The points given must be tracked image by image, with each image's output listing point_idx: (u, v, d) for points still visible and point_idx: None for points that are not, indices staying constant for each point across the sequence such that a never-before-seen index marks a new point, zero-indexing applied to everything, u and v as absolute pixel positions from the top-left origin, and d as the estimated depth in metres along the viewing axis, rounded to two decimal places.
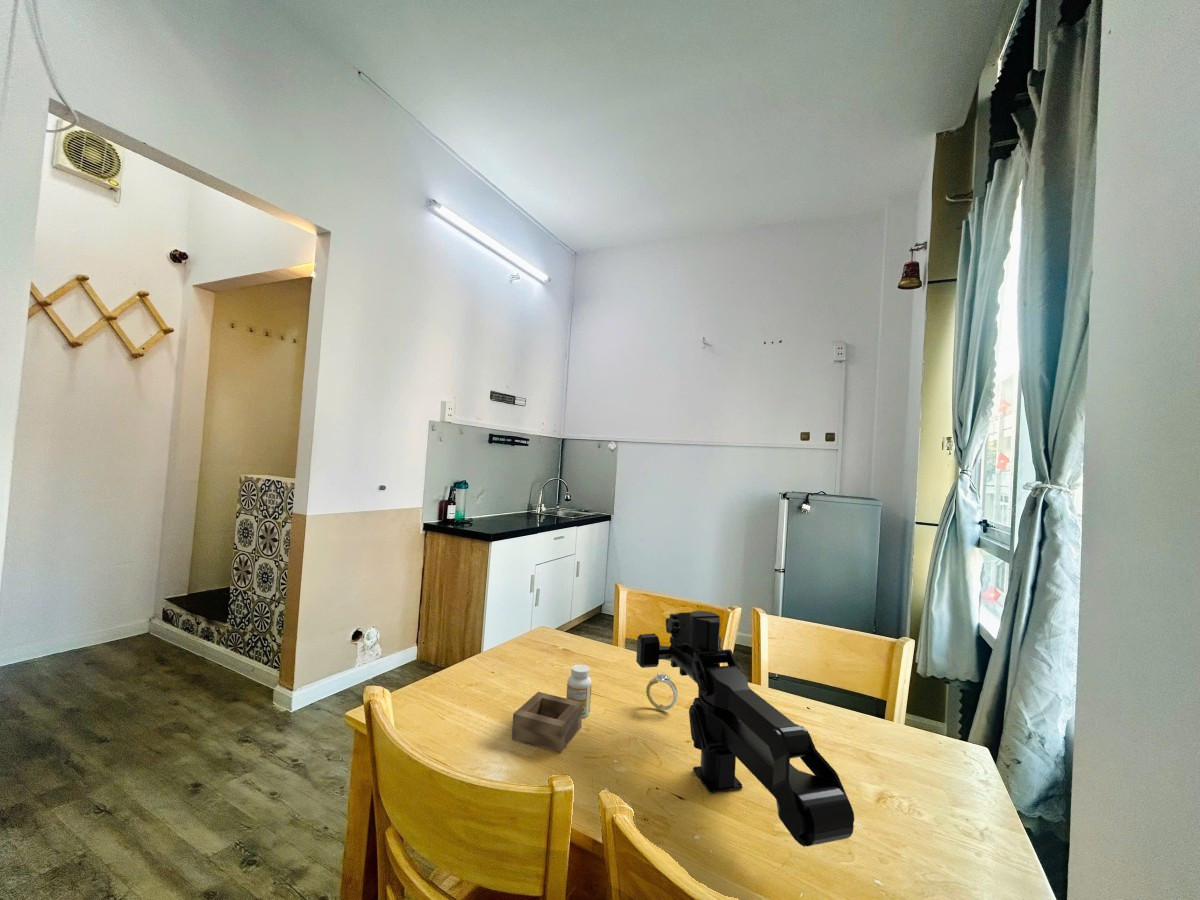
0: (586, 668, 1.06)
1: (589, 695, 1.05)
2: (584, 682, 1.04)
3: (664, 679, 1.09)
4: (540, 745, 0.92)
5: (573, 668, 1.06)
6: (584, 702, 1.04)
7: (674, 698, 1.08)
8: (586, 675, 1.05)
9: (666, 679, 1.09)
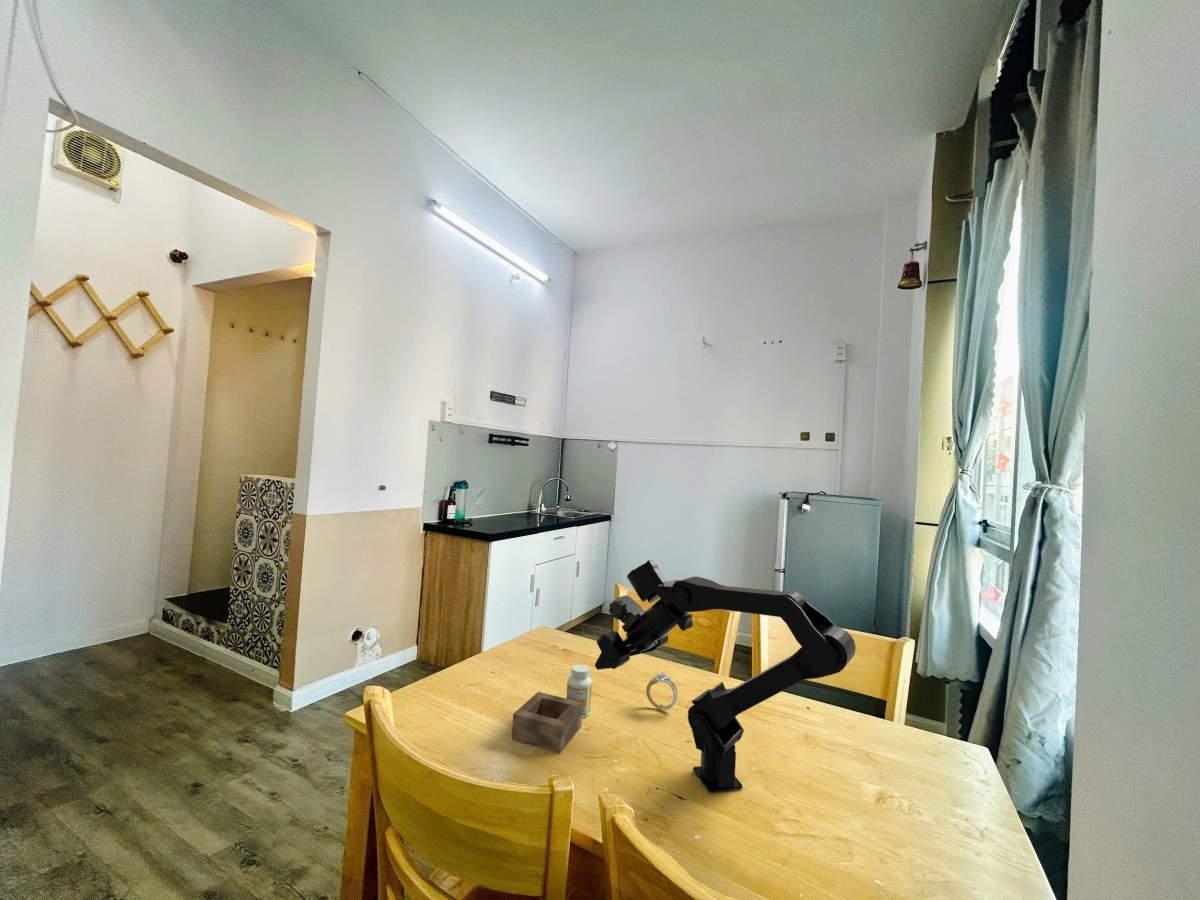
0: (586, 668, 1.06)
1: (589, 695, 1.05)
2: (584, 682, 1.04)
3: (664, 679, 1.09)
4: (540, 745, 0.92)
5: (573, 668, 1.06)
6: (584, 702, 1.04)
7: (674, 698, 1.08)
8: (586, 675, 1.05)
9: (666, 679, 1.09)
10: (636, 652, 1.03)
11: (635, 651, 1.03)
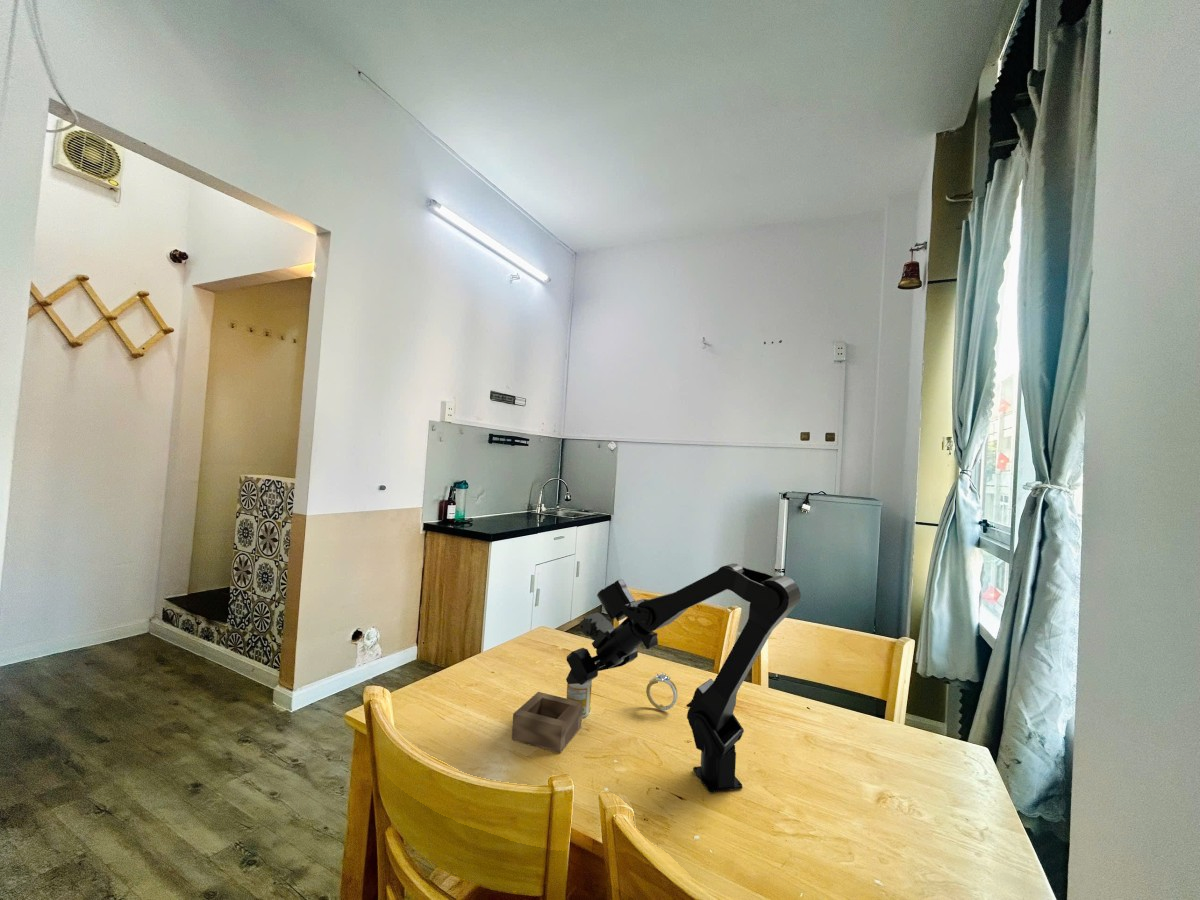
0: None
1: (589, 695, 1.05)
2: None
3: (664, 679, 1.09)
4: (540, 745, 0.92)
5: None
6: (584, 702, 1.04)
7: (674, 698, 1.08)
8: None
9: (666, 679, 1.09)
10: None
11: (606, 666, 1.08)
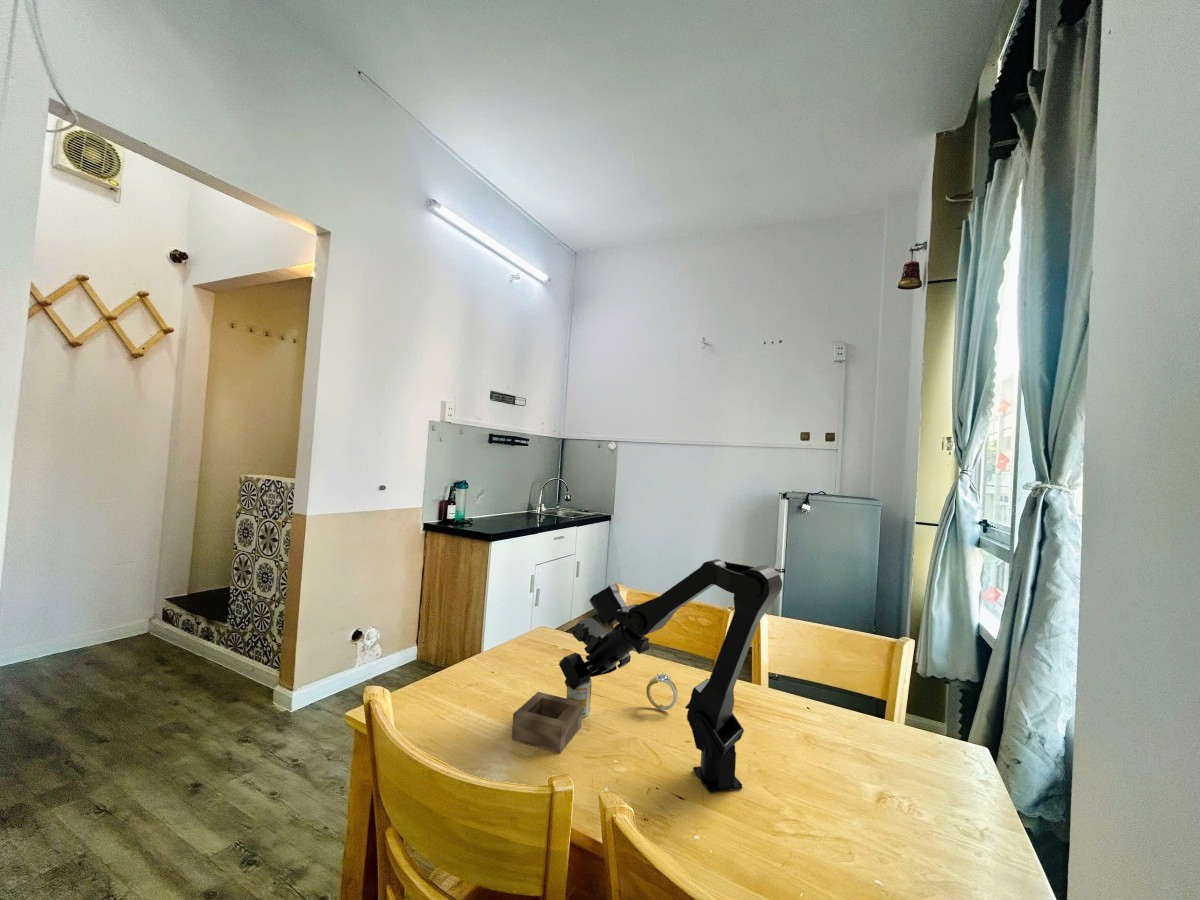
0: None
1: (589, 695, 1.05)
2: None
3: (664, 679, 1.09)
4: (540, 745, 0.92)
5: None
6: (584, 702, 1.04)
7: (674, 698, 1.08)
8: None
9: (666, 679, 1.09)
10: (595, 673, 1.07)
11: (594, 672, 1.08)
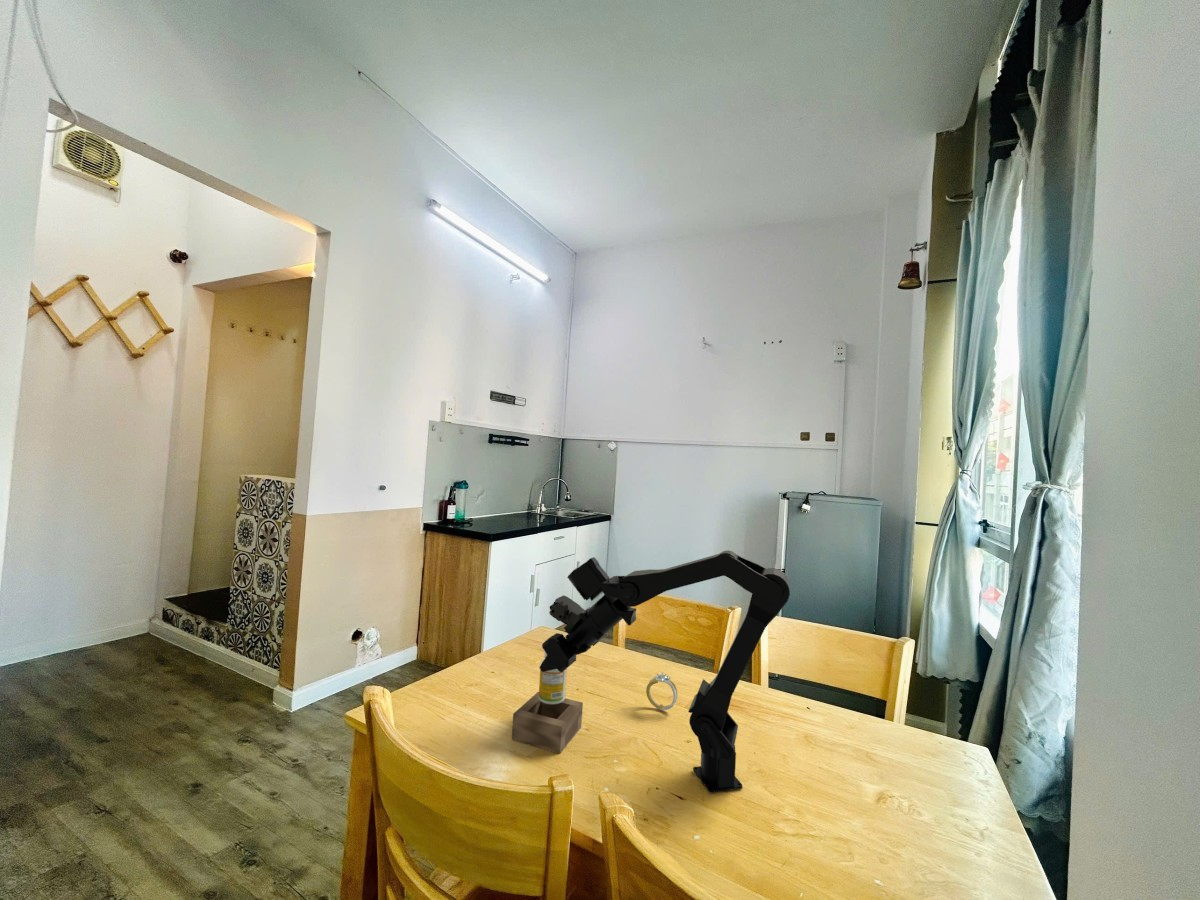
0: None
1: (565, 678, 0.98)
2: None
3: (664, 679, 1.09)
4: (540, 745, 0.92)
5: None
6: (561, 686, 0.96)
7: (674, 698, 1.08)
8: None
9: (666, 679, 1.09)
10: None
11: None
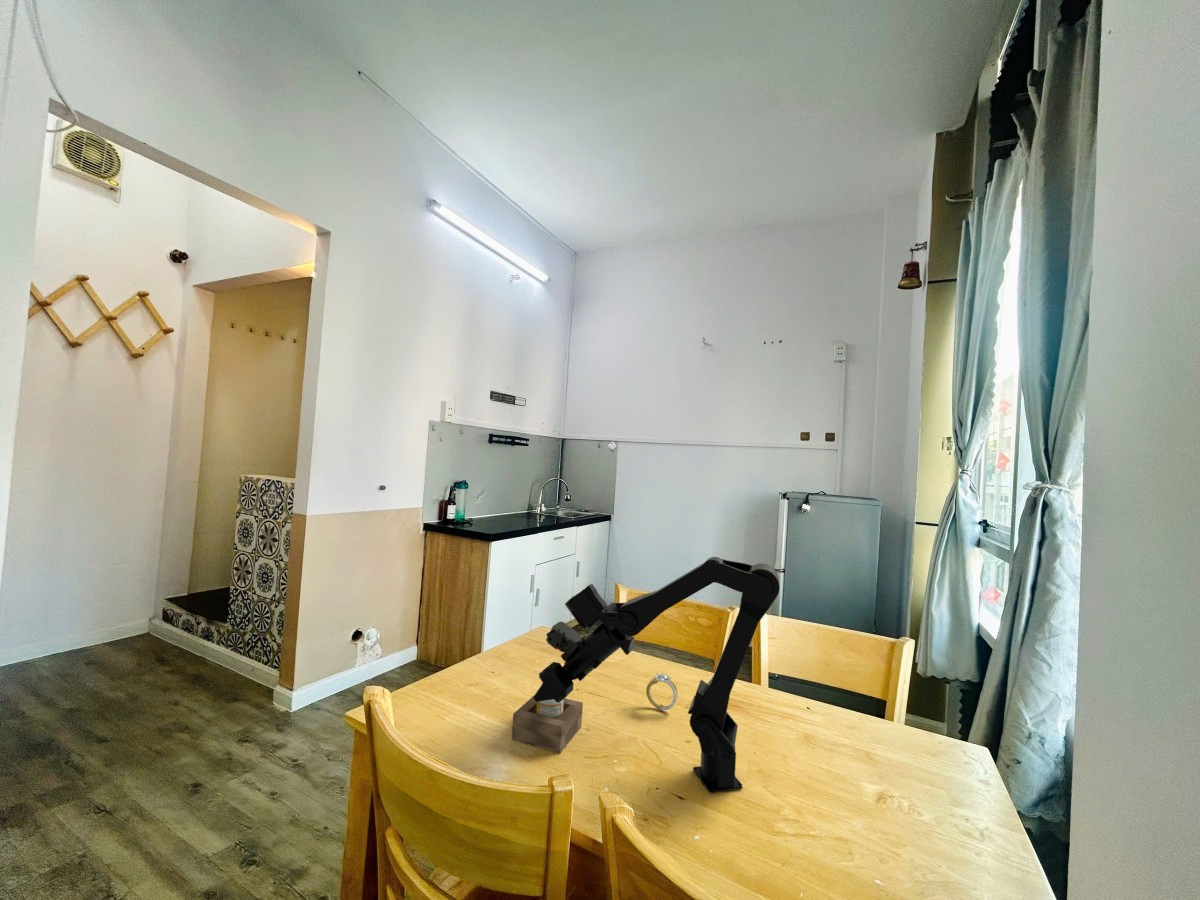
0: None
1: (562, 710, 0.97)
2: None
3: (664, 679, 1.09)
4: (540, 745, 0.92)
5: None
6: None
7: (674, 698, 1.08)
8: None
9: (666, 679, 1.09)
10: None
11: None
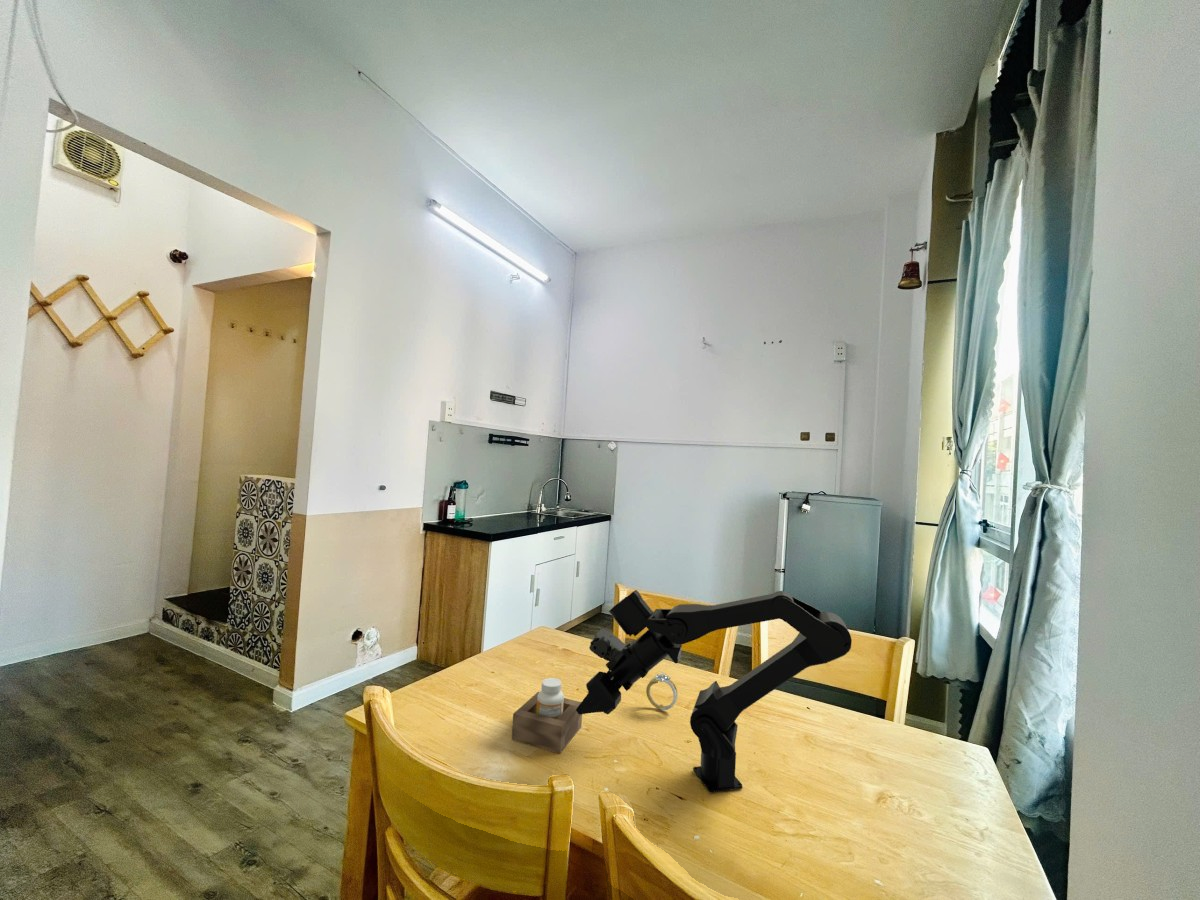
0: (558, 681, 0.98)
1: (562, 710, 0.97)
2: (558, 697, 0.96)
3: (664, 679, 1.09)
4: (540, 745, 0.92)
5: (544, 683, 0.97)
6: None
7: (674, 698, 1.08)
8: (559, 689, 0.97)
9: (666, 679, 1.09)
10: None
11: None
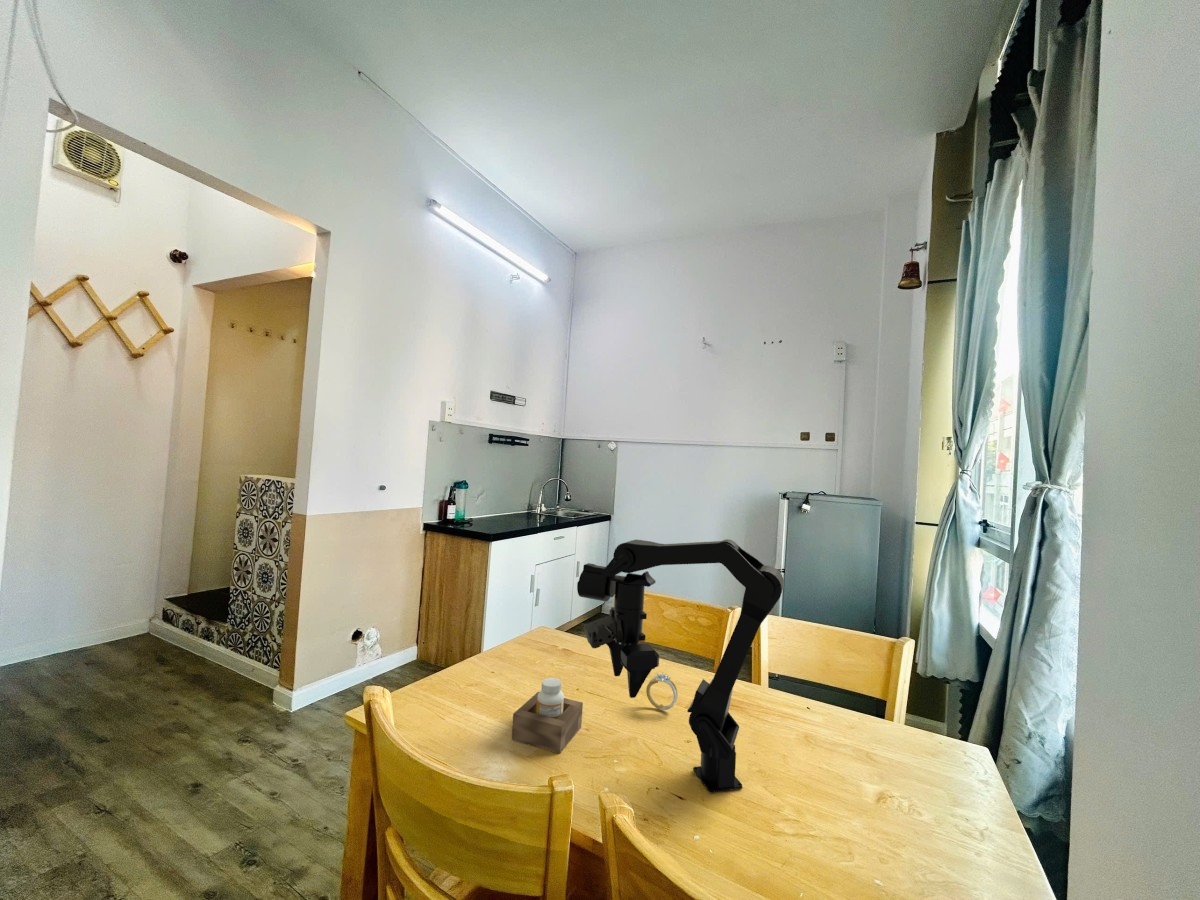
0: (558, 681, 0.98)
1: (562, 710, 0.97)
2: (558, 697, 0.96)
3: (664, 679, 1.09)
4: (540, 745, 0.92)
5: (544, 683, 0.97)
6: None
7: (674, 698, 1.08)
8: (559, 689, 0.97)
9: (666, 679, 1.09)
10: None
11: None
